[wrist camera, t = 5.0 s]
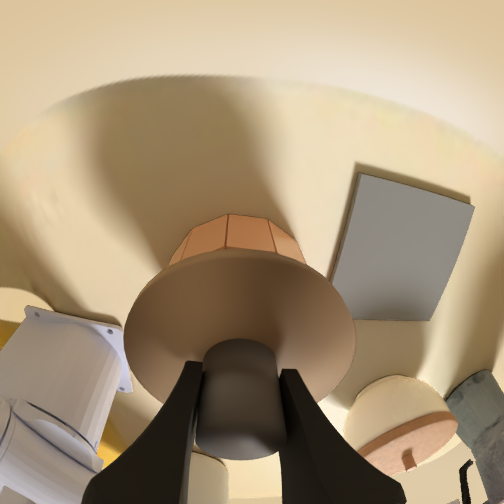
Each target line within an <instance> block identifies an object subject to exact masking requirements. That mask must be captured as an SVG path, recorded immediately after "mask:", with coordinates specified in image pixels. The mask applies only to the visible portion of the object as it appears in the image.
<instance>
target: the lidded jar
mask: <svg viewBox="0 0 504 504" xmlns="http://www.w3.org/2000/svg"><path fill="white" fill-rule="evenodd" d="M457 427H458V421H457V419H456V418H455V416H454V414H453V413H451V411H450V409H449V408H448V406H447V404H446V403H445V401H444V399H443V398H442V397H441V396H440V394H439V393H438V392H437V391H436V390H435V389H434V388H433V387H432V386H430V385H429V384H427V383H426V382H424V381H421V380H419V379H416V378H410V377H405V376H402V375H390V376H386V377H383V378H381V379H378V380H376V381H374V382H372V383H371V384H369V385H368V386H366V387H365V388H364V389H363V390H362V391H361V392H360V393H359V394H358V395H357V397H356V398H355V401H354V404H353V405H352V407H351V408H350V410H349V412H348V414H347V417H346V419H345V423H344V428H343V438H344V439H345V440H346V441H347V442H348V443H349V445H350V446H351V447H352V448H353V449H354V450H356V451H357V452H358V453H359V454H360V455H361V456H362V457H364V458H365V459H366V460H367V461H368V462H369V463H371V464H372V465H373V466H374V467H376V468H377V469H378V470H380V471H381V472H383V473H384V474H386V475H387V476H390V475H393V474H396V473H399V472H402V471H404V470H406V472H409V471H411V470H414V469H415V468H416V467H417V464H418V463H420V462H422V461H423V460H425V459H427V458H428V457H430V456H431V455H433V454H434V453H435V452H437V451H438V450H439V449H441V448H442V447H443V446H444V445H445V444H446V443H447V442H448V441H449V440H450V439H451V438H452V436H453V435H454V434H455V432H456V430H457Z"/></svg>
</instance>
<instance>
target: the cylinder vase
mask: <svg viewBox="0 0 504 504" xmlns="http://www.w3.org/2000/svg"><path fill="white" fill-rule="evenodd" d="M187 504H229V473H228V470H227V468H226V467H225V466H224V465H223V464H222V463H220V462H219V461H217V460H215V459H213V458H211V457H209V456H206V455H203V454H199V453H196V452H192V454H191V461H190V470H189V484H188V501H187Z"/></svg>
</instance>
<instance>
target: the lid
mask: <svg viewBox="0 0 504 504" xmlns="http://www.w3.org/2000/svg"><path fill="white" fill-rule="evenodd" d="M123 343H124V351H125V355H126V359H127V362H128V364H129V366H130V369H131V370H132V372H133V374H134V375H135V377H136V379H137V380H138V381H139V382H140V384H141V385H142V386H143V387H144V388H145V389H146V390H147V391H148V392H149V393H150V394H151V395H152V396H154V397H155V398H156V399H157V400H159V401H160V402H161V403H163V404H164V403H165V402H166V400H167V399H168V397H169V395H170V393H171V392H172V390H173V388H174V386H175V385H176V383H177V381H178V379H179V377H180V374H181V372H182V370H183V367H184V364H185V362H186V361H188V360H190V361H198V362H203V370H202V381H201V390H200V397H199V404H198V414H197V425H196V436H195V442H196V444H197V446H198V447H199V448H200V449H201V450H203V451H204V452H206V453H208V454H210V455H212V456H215V457H219V458H223V459H229V460H253V459H259V458H263V457H267V456H269V455H272V454H274V453H276V452H278V451H279V450H281V449H282V448H283V447H284V446H285V444H286V442H287V433H286V426H285V419H284V412H283V404H282V397H281V390H280V383H279V376H280V373H281V370H282V368H284V369H297V370H298V372H299V374H300V375H301V377H302V379H303V381H304V383H305V385H306V386H307V388H308V390H309V391H310V393H311V395H312V396H313V398H314V400H315V401H316V403H318V402H319V401H321V400H322V399H323V398H325V397H326V396H327V395H328V394H329V393H330V392H331V391H333V390H334V389H335V388H336V387H337V385H338V384H339V383H340V382H341V380H342V379H343V378H344V376H345V374H346V373H347V371H348V370H349V367H350V365H351V363H352V360H353V357H354V353H355V348H356V332H355V326H354V323H353V319H352V316H351V314H350V312H349V310H348V308H347V306H346V304H345V302H344V301H343V299H342V297H341V295H340V294H339V292H338V291H337V290H336V288H335V287H334V286H333V285H332V284H331V283H330V282H329V281H328V280H327V279H326V278H325V277H324V276H323V275H322V274H320V273H319V272H317V271H316V270H314V269H313V268H311V267H310V266H308V265H306V264H304V263H302V262H300V261H298V260H295V259H293V258H290V257H287V256H284V255H281V254H278V253H273V252H268V251H263V250H255V249H222V250H216V251H210V252H204V253H201V254H198V255H194V256H191V257H188V258H185V259H183V260H181V261H179V262H177V263H175V264H172V265H171V266H169V267H168V268H166V269H164V270H163V271H161V272H160V273H158V274H157V275H156V276H155V277H154V278H153V279H152V280H151V281H149V282H148V283H147V285H146V286H145V287H144V288H143V290H142V291H141V292H140V293H139V295H138V297H137V299H136V300H135V302H134V304H133V306H132V308H131V310H130V312H129V315H128V317H127V320H126V324H125V327H124V335H123Z"/></svg>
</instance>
